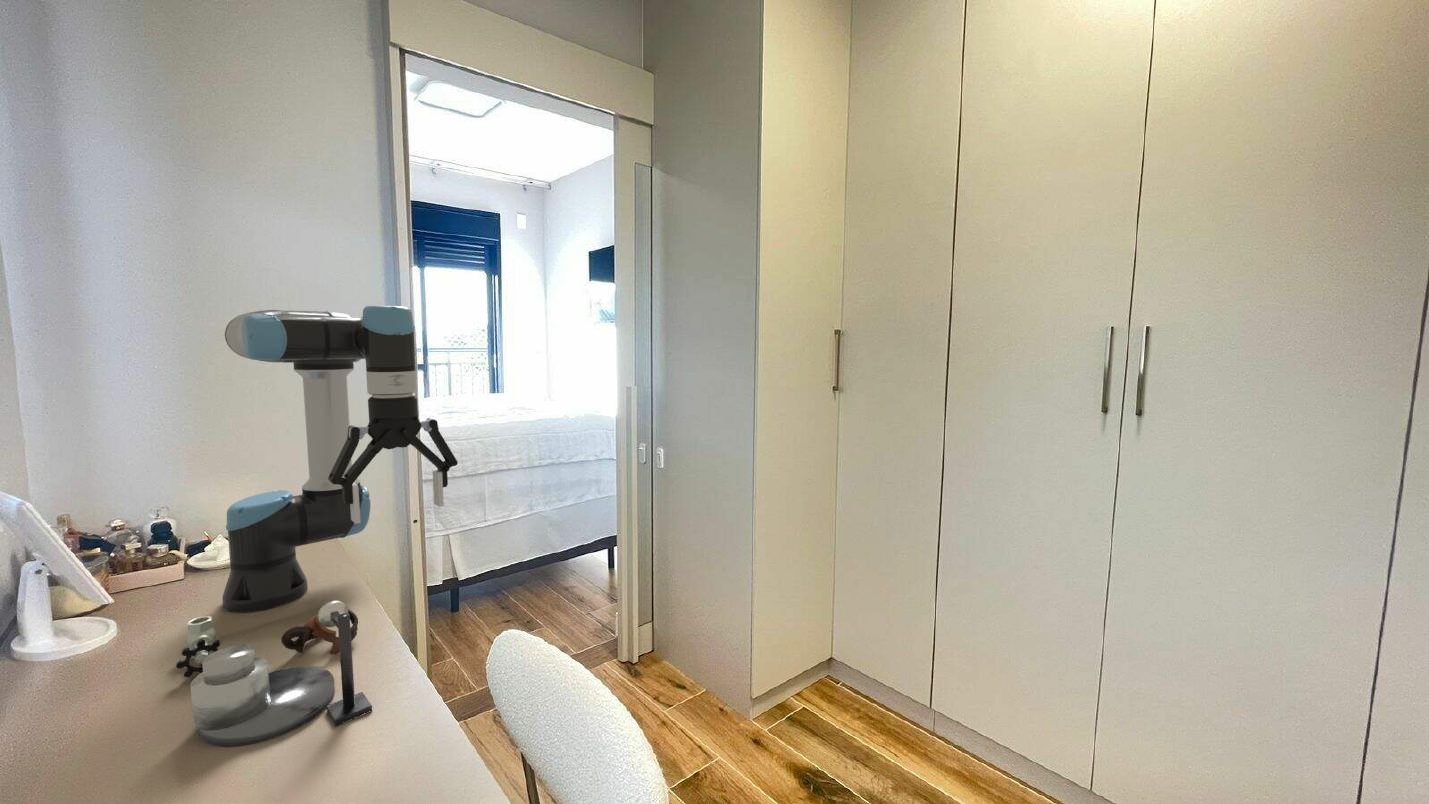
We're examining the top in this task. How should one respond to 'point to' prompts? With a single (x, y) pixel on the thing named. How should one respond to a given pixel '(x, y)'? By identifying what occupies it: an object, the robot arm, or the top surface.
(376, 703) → the top surface
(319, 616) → the dial stand
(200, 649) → the valve
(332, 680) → the grey metal flat disc
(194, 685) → the cover
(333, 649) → the brown irregular ringed piece
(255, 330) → the robot arm
